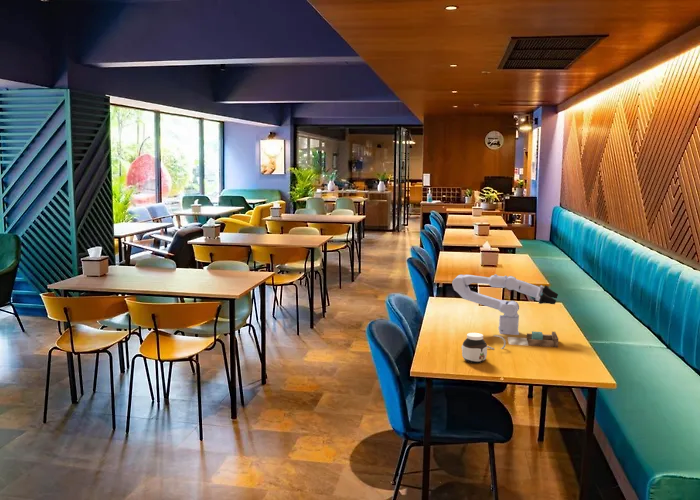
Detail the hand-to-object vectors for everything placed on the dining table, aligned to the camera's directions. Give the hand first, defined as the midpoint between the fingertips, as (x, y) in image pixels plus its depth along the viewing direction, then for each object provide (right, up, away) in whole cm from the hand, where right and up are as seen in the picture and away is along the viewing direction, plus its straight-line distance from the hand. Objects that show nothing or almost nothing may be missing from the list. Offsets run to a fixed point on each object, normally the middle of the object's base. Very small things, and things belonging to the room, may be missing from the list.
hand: (556, 299), depth 300 cm
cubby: (-14, -20, -6) cm, 25 cm away
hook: (-38, -22, -14) cm, 47 cm away
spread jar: (-46, -24, -30) cm, 60 cm away
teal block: (-11, -20, -7) cm, 24 cm away
